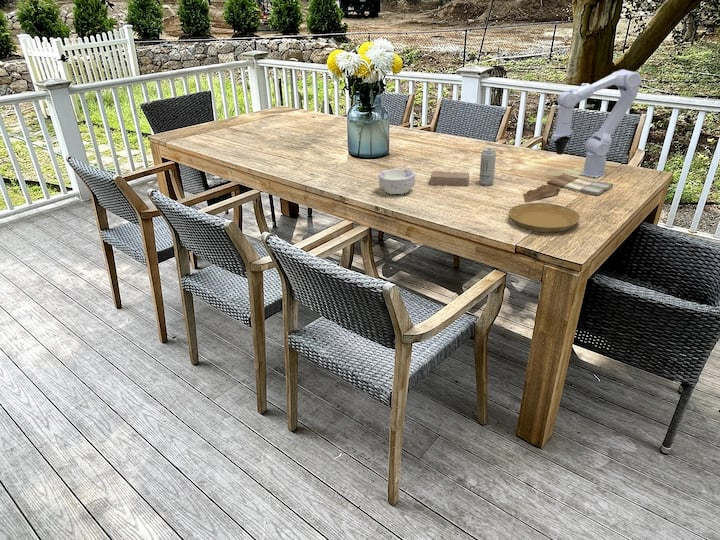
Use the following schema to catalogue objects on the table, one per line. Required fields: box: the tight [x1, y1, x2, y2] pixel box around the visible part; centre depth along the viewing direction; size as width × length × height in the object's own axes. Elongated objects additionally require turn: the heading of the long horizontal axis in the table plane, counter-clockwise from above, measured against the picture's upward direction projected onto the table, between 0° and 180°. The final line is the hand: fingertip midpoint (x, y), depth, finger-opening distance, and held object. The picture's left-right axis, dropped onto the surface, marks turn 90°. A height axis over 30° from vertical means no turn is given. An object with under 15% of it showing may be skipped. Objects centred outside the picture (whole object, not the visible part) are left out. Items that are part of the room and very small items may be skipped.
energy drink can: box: [478, 147, 497, 187], centre depth 220 cm, size 6×6×15 cm
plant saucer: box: [508, 202, 581, 233], centre depth 184 cm, size 24×24×3 cm
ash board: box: [562, 177, 596, 193], centre depth 216 cm, size 14×7×1 cm, turn 133°
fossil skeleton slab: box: [522, 184, 561, 204], centre depth 210 cm, size 26×11×1 cm, turn 129°
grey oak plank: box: [579, 180, 614, 196], centre depth 211 cm, size 14×7×1 cm, turn 133°
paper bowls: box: [378, 168, 416, 195], centre depth 217 cm, size 15×15×8 cm
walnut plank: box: [546, 173, 579, 189], centre depth 220 cm, size 14×7×1 cm, turn 133°
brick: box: [429, 170, 470, 187], centre depth 225 cm, size 17×8×5 cm, turn 78°
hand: (559, 154), depth 222 cm, fingers closed
